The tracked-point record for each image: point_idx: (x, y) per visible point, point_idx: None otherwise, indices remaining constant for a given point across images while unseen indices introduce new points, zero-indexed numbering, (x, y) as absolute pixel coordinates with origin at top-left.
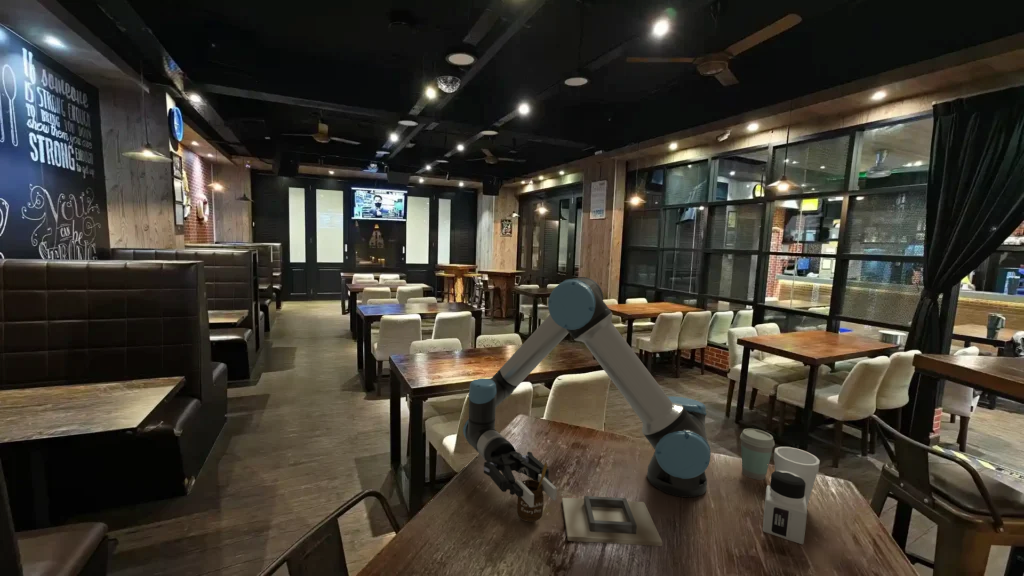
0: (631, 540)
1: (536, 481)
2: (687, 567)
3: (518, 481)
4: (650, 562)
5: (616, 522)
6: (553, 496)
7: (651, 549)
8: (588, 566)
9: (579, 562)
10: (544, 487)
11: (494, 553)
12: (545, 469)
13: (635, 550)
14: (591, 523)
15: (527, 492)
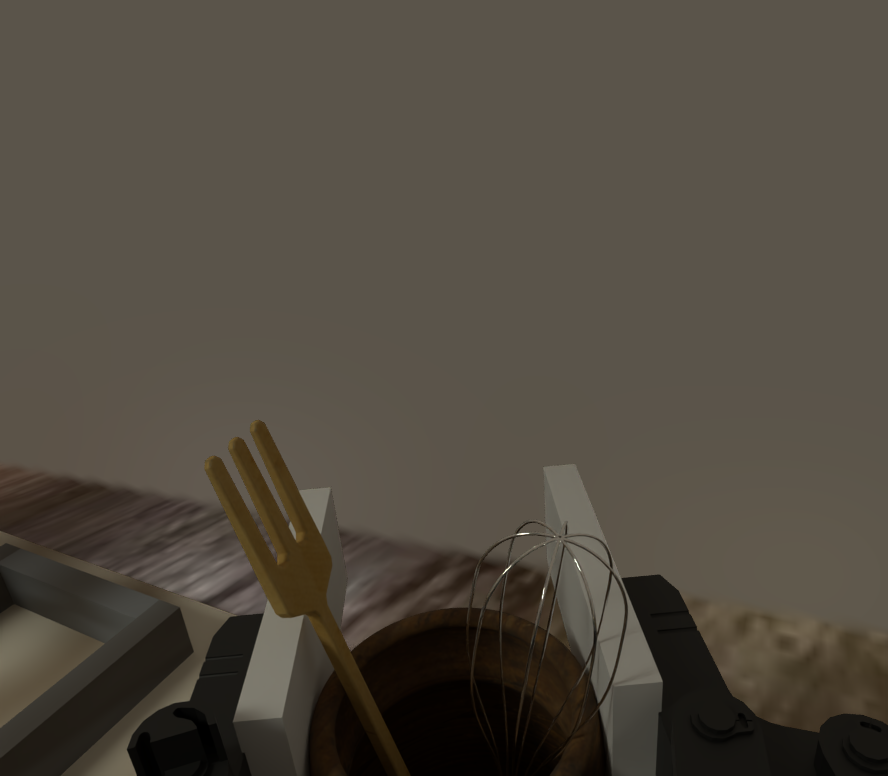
0: (89, 563)
1: (335, 764)
2: (70, 477)
3: (638, 647)
4: (144, 509)
5: (57, 577)
6: (340, 550)
7: (61, 546)
8: (376, 539)
9: (396, 560)
10: (321, 661)
11: (861, 713)
12: (284, 465)
13: (120, 555)
14: (175, 609)
15: (588, 506)
